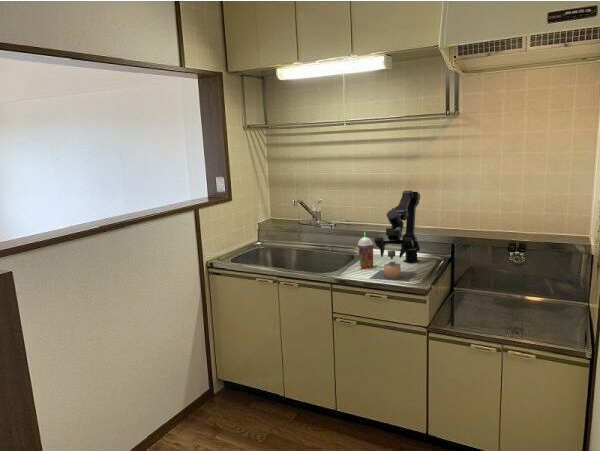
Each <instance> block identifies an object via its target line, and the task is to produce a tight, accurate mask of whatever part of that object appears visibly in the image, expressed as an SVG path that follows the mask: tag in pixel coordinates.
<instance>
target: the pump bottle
mask: <svg viewBox="0 0 600 451" xmlns="http://www.w3.org/2000/svg"><path fill="white" fill-rule="evenodd" d="M383 270H384V276H385V278H386V279H399V278H401V271H402V267H401V263H396V261H389V262H388V263H386V264H384V265H383Z"/></svg>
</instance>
